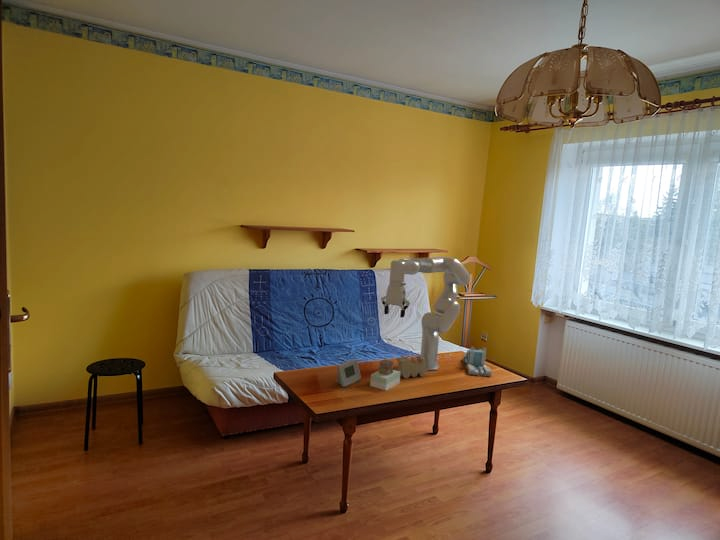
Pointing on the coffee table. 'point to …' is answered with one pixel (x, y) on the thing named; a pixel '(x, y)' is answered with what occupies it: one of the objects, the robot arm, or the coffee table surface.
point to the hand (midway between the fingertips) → (394, 315)
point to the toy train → (412, 366)
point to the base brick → (385, 380)
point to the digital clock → (348, 373)
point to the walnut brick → (386, 367)
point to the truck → (476, 362)
